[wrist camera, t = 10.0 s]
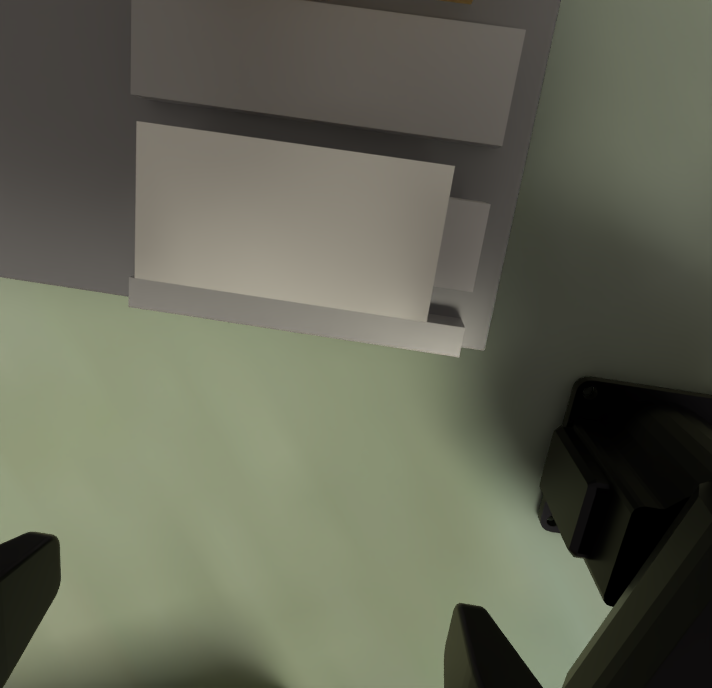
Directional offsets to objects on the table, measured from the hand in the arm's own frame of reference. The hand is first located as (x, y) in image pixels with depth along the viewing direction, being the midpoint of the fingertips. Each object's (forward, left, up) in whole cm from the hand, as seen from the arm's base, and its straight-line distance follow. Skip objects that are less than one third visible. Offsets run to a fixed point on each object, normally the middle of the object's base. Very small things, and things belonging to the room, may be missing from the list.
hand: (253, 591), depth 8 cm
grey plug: (+1, -5, -12) cm, 13 cm away
